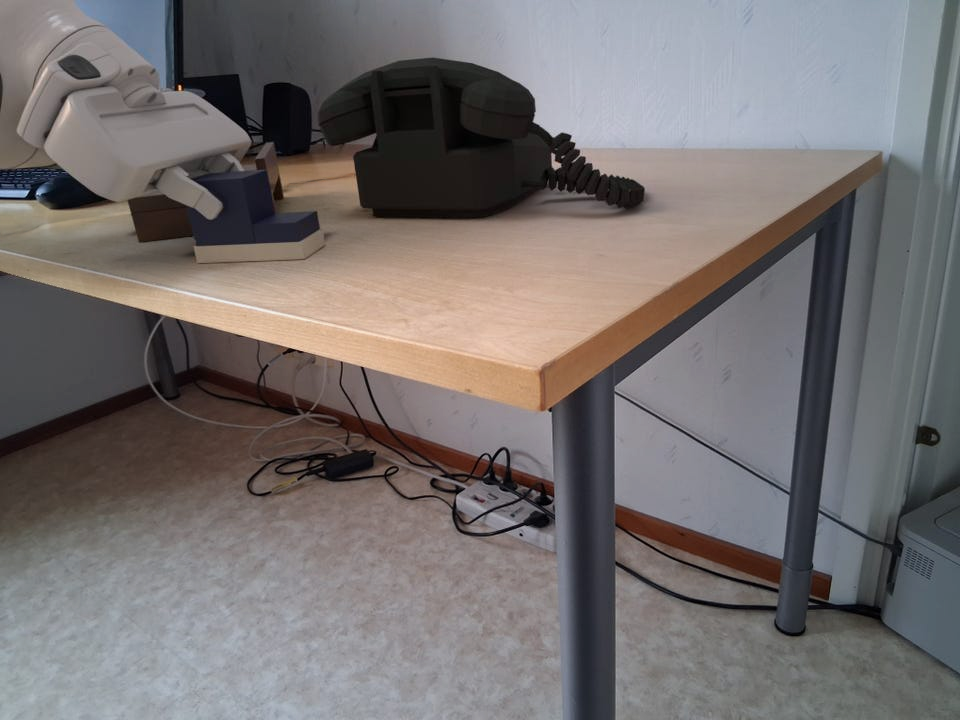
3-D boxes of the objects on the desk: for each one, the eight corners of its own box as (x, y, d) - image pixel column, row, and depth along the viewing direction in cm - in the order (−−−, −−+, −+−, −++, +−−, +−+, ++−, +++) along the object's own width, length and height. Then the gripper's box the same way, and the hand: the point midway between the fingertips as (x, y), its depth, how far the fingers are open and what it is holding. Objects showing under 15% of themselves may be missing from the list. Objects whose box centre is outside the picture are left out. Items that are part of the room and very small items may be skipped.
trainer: (197, 263, 61) (177, 182, 58) (225, 248, 65) (207, 173, 62) (304, 259, 59) (289, 175, 56) (325, 244, 63) (312, 166, 61)
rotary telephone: (672, 181, 79) (676, 37, 73) (626, 225, 61) (626, 38, 55) (417, 183, 93) (404, 62, 87) (319, 219, 75) (294, 69, 69)
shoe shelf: (133, 243, 71) (114, 173, 69) (169, 210, 89) (155, 153, 87) (277, 225, 74) (264, 157, 71) (284, 196, 92) (273, 141, 89)
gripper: (160, 114, 69) (270, 208, 71) (-2, 136, 51) (154, 262, 53) (189, 62, 67) (303, 160, 69) (31, 65, 48) (193, 200, 50)
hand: (238, 205), depth 61 cm, fingers closed on trainer, 5 cm apart
